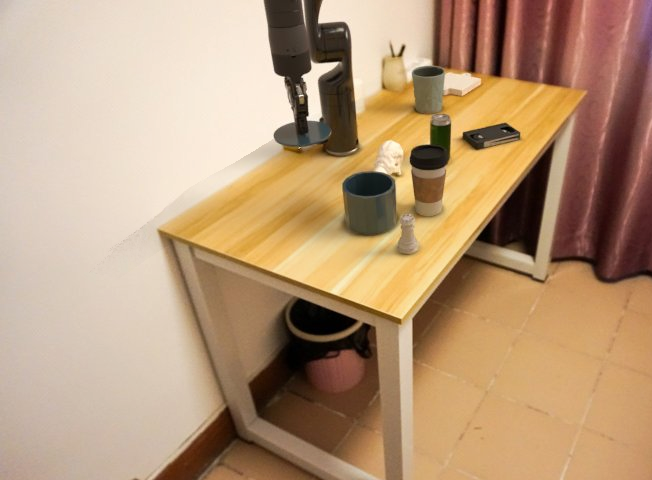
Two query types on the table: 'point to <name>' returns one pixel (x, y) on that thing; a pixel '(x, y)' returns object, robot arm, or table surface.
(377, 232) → the canister
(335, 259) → the table surface
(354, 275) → the table surface
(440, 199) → the coffee cup
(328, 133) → the lid
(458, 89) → the mounting plate
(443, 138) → the beer can
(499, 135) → the vhs tape
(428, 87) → the grey green tumbler
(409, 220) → the rook chess piece
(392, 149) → the white figurine
